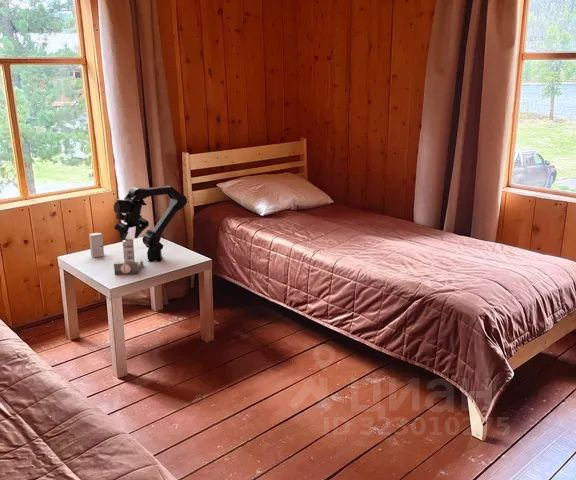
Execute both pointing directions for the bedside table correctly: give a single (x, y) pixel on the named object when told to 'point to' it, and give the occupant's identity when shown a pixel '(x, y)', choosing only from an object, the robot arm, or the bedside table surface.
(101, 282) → the bedside table surface
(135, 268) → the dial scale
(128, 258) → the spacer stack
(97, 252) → the skincare box
